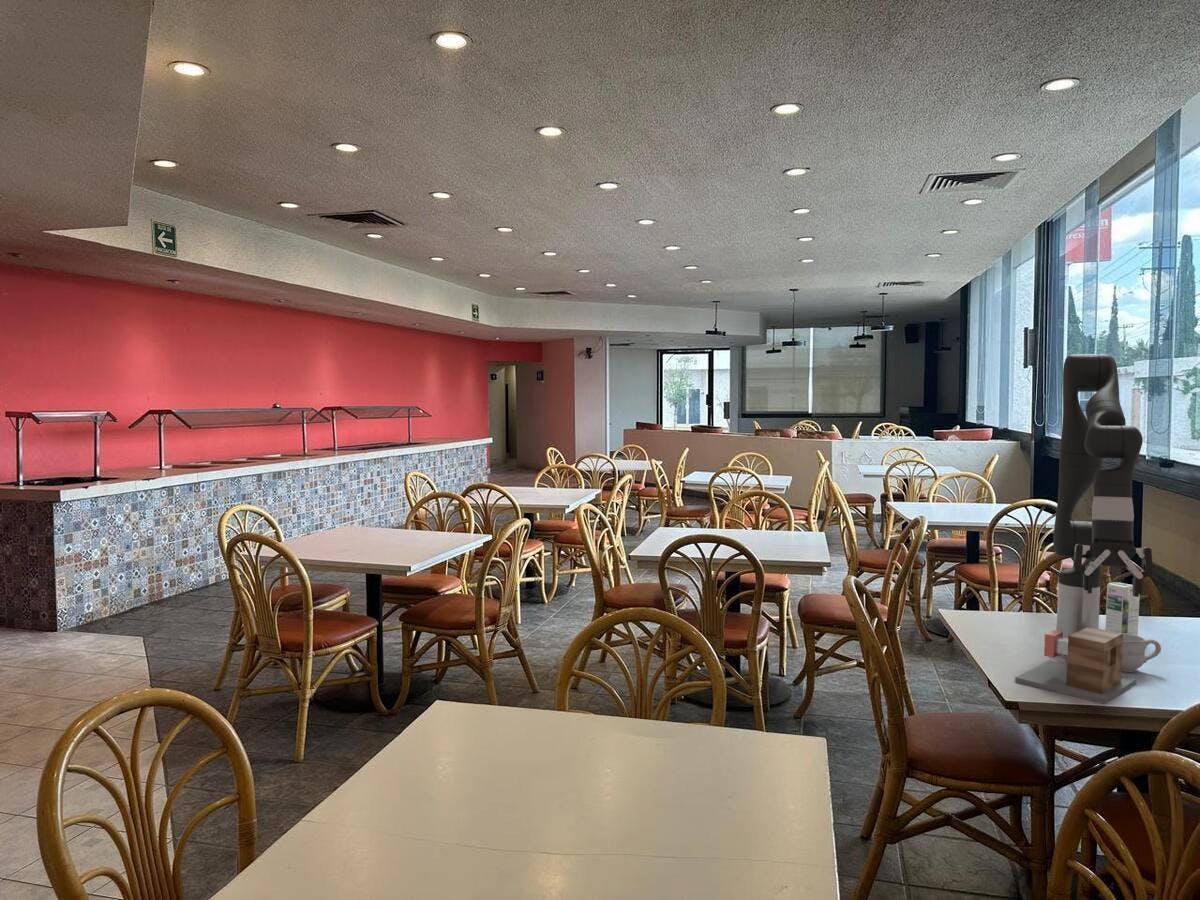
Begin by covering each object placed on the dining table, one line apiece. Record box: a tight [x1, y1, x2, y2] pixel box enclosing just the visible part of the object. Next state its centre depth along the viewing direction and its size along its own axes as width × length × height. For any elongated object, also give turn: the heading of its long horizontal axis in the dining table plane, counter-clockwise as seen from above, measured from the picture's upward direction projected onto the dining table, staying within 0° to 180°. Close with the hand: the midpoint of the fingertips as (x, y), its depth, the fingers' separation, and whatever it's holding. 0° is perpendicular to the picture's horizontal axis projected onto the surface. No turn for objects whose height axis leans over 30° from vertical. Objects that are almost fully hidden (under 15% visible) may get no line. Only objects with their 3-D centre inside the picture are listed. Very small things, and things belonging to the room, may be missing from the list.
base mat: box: [1014, 659, 1137, 705], centre depth 183 cm, size 20×18×1 cm
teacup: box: [1122, 633, 1162, 673], centre depth 193 cm, size 14×11×8 cm
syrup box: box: [1104, 581, 1141, 636], centre depth 221 cm, size 6×6×14 cm
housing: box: [1066, 627, 1123, 694], centre depth 179 cm, size 12×7×12 cm, turn 131°
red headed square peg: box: [1043, 629, 1068, 659], centre depth 183 cm, size 5×9×5 cm, turn 41°
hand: (1112, 594), depth 173 cm, fingers open, 8 cm apart
